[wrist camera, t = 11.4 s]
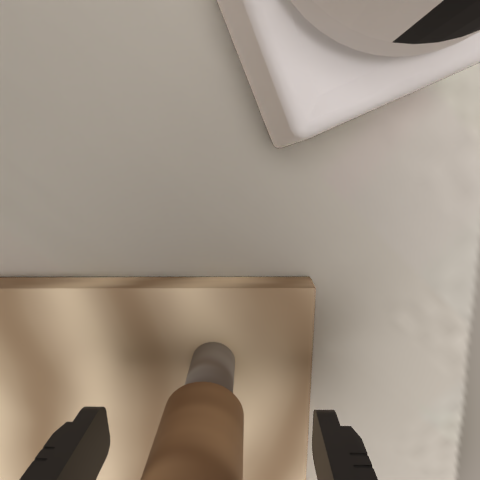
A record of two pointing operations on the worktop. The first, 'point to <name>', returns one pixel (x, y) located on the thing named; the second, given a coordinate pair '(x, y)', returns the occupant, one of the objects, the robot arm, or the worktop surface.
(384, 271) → the worktop surface
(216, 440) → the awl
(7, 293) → the subfloor panel
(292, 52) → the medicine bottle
